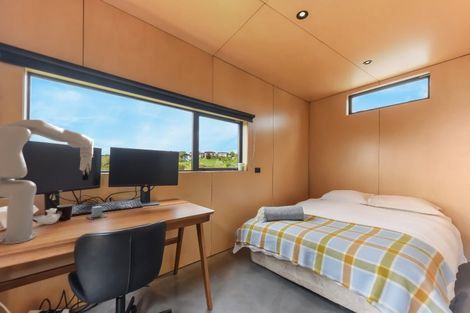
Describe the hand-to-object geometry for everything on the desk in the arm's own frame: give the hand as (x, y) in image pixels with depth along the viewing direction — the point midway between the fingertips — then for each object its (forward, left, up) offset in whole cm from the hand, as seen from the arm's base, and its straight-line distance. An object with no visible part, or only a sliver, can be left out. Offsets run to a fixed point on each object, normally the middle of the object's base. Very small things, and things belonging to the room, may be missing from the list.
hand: (85, 180), depth 144 cm
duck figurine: (-18, +1, -28) cm, 33 cm away
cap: (+7, -4, -27) cm, 28 cm away
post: (+7, -4, -28) cm, 29 cm away
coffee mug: (-10, +6, -28) cm, 30 cm away
